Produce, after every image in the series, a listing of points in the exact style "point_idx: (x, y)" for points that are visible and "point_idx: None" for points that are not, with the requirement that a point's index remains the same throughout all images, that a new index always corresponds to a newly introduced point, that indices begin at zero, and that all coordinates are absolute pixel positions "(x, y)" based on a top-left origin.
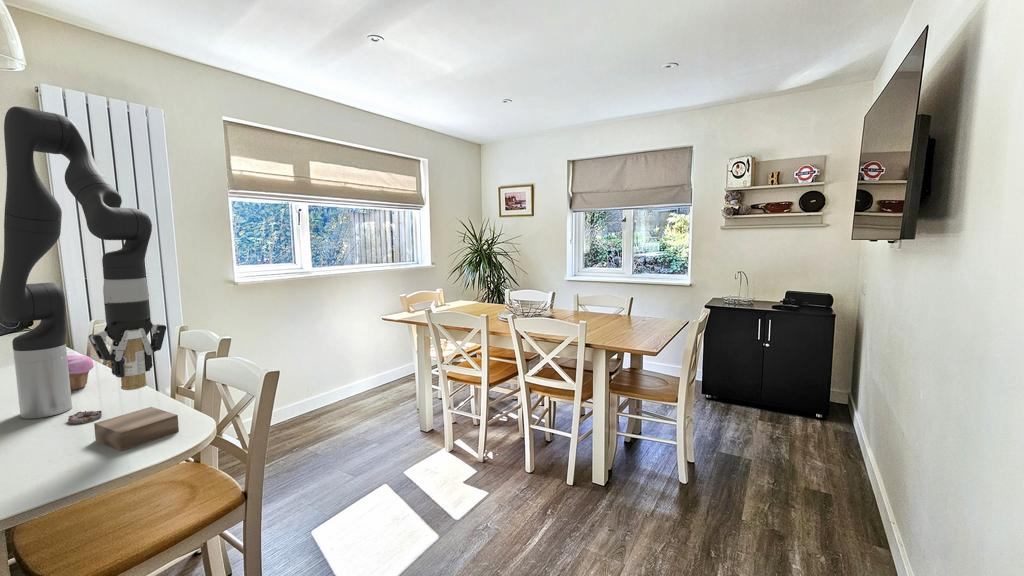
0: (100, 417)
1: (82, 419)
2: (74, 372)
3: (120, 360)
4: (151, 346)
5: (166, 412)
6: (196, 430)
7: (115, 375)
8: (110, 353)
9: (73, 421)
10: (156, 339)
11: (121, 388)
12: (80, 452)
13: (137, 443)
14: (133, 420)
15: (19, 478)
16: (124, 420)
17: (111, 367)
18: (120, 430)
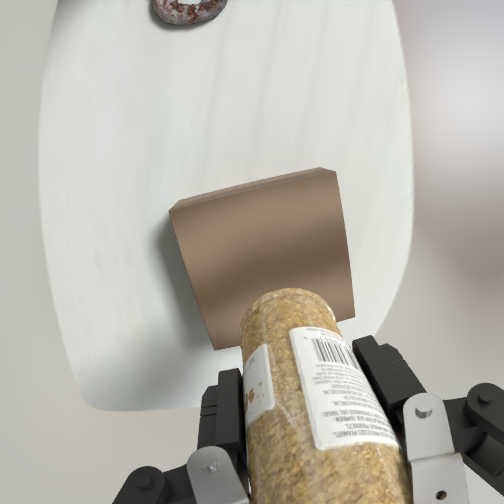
0: (223, 8)
1: (177, 17)
2: None
3: (245, 474)
4: (462, 440)
5: (346, 273)
6: (364, 316)
7: (219, 374)
8: (195, 492)
9: (158, 13)
10: (495, 480)
11: (239, 336)
12: (145, 260)
13: None
14: (260, 276)
15: (66, 311)
16: (240, 256)
17: (200, 419)
18: (217, 331)
